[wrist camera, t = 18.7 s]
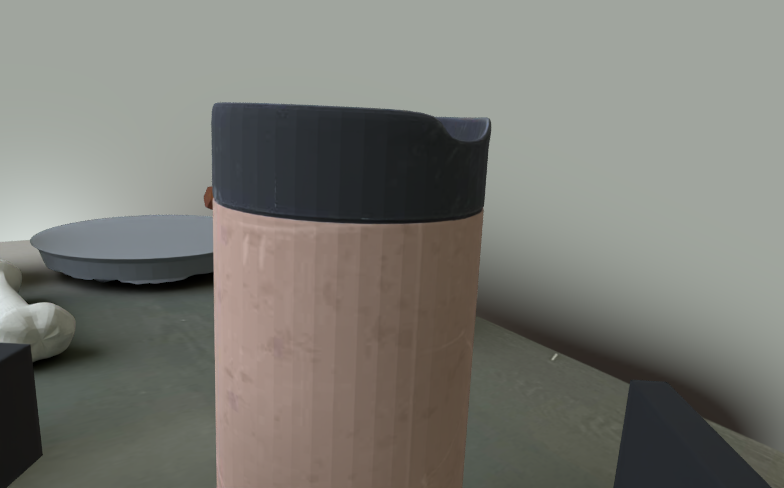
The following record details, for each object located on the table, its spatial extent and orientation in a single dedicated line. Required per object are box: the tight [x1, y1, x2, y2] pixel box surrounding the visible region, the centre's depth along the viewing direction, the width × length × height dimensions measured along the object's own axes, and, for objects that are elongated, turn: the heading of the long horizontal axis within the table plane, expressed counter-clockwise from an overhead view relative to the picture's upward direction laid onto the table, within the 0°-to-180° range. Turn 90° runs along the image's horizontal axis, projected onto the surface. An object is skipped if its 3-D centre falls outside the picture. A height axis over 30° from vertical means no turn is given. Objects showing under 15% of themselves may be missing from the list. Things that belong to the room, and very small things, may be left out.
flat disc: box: [30, 215, 214, 284], centre depth 72 cm, size 28×28×4 cm
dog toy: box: [0, 260, 76, 362], centre depth 48 cm, size 20×6×5 cm, turn 46°
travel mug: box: [211, 102, 491, 488], centre depth 17 cm, size 8×8×20 cm
